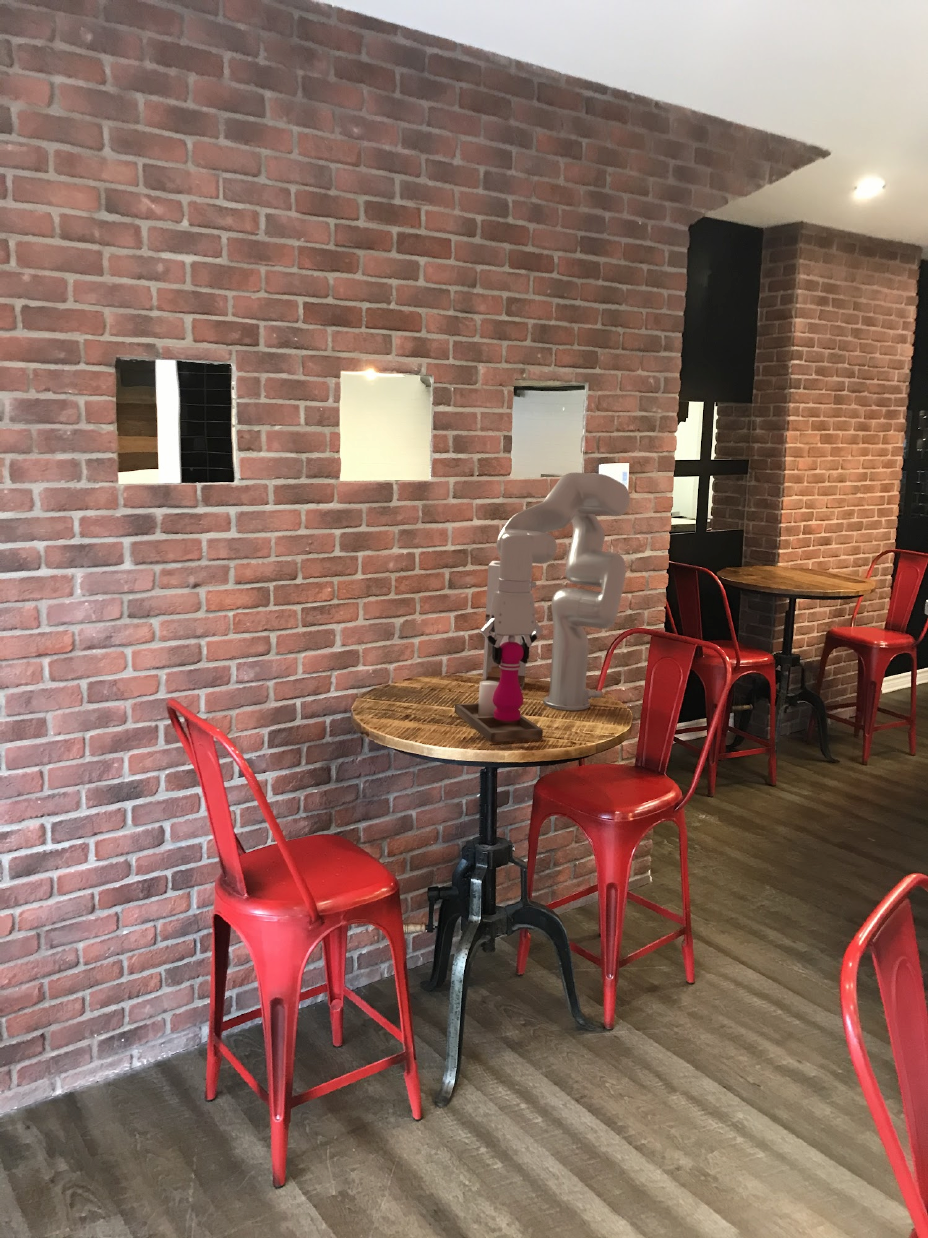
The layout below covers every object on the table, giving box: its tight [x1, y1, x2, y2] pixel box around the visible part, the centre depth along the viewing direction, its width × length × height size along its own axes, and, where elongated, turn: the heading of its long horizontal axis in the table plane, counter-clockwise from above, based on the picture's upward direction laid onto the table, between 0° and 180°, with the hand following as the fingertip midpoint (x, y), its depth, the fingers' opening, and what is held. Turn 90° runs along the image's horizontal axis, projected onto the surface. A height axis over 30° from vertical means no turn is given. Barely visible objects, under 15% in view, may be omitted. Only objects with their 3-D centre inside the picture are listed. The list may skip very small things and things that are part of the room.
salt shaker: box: [478, 680, 499, 717], centre depth 244 cm, size 5×5×9 cm
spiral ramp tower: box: [482, 560, 527, 692], centre depth 280 cm, size 11×11×35 cm
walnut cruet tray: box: [454, 702, 544, 746], centre depth 239 cm, size 13×25×3 cm, turn 20°
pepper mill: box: [493, 636, 524, 721], centre depth 231 cm, size 7×7×20 cm
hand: (510, 661), depth 231 cm, fingers closed on pepper mill, 6 cm apart
